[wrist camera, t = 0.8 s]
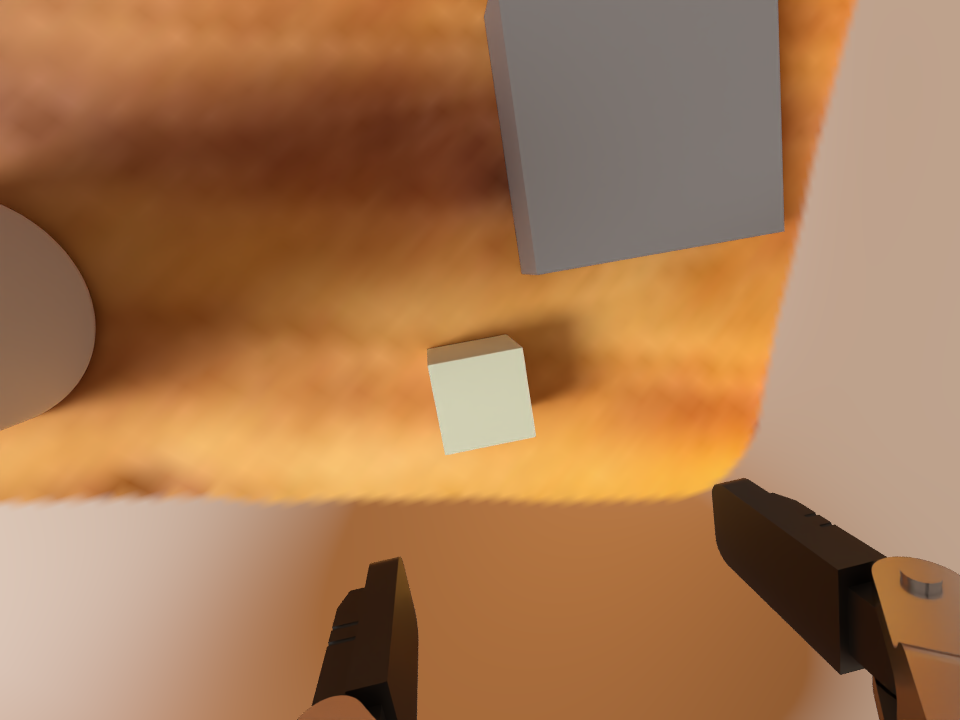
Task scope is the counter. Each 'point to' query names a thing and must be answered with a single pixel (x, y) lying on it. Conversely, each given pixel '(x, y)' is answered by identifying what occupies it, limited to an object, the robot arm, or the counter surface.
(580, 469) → the counter surface
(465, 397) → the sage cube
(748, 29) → the plinth
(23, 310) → the cylinder vase
